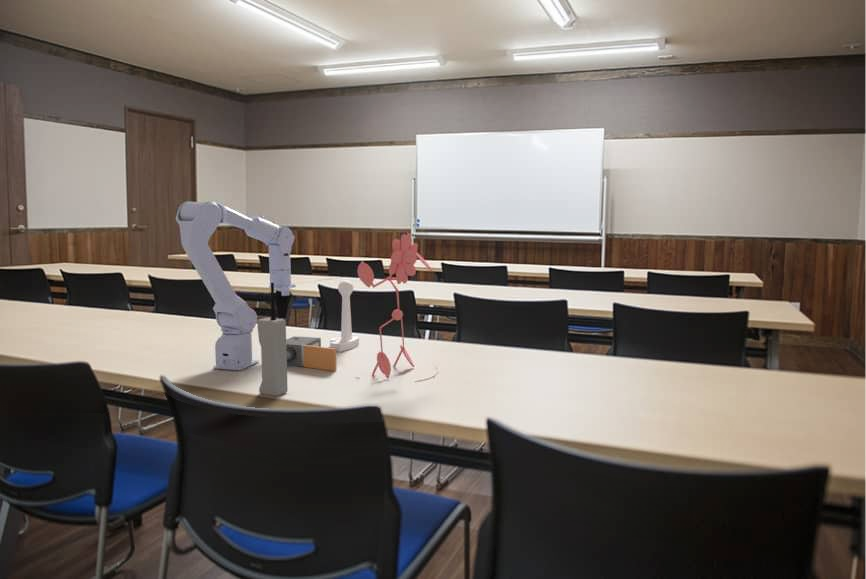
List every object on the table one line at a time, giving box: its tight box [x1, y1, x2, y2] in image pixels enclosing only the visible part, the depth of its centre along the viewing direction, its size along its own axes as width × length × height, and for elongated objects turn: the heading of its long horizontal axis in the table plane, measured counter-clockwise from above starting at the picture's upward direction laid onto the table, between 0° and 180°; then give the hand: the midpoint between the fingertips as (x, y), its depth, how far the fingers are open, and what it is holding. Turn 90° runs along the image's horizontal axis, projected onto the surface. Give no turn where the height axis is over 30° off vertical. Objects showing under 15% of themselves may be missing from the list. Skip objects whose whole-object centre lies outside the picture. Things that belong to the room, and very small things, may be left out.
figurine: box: [355, 233, 439, 383], centre depth 158 cm, size 15×26×35 cm, turn 148°
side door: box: [301, 345, 337, 372], centre depth 165 cm, size 10×1×6 cm, turn 64°
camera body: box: [286, 335, 322, 367], centre depth 173 cm, size 12×8×6 cm
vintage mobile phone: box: [256, 282, 289, 397], centre depth 142 cm, size 4×5×25 cm
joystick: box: [329, 279, 360, 353], centre depth 189 cm, size 11×8×20 cm
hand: (281, 318), depth 180 cm, fingers closed
